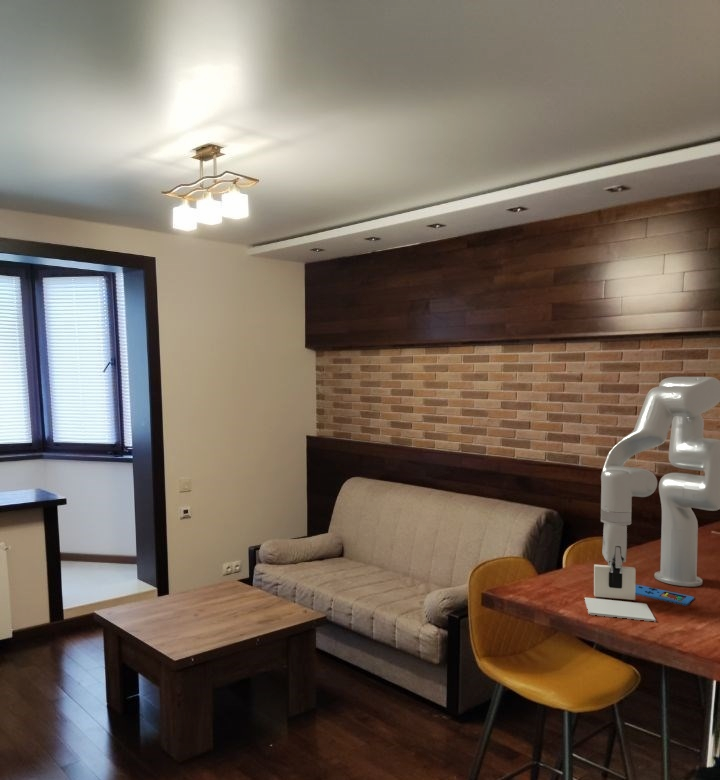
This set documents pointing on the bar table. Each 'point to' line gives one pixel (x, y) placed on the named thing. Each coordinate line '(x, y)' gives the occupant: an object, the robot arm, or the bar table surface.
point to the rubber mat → (619, 609)
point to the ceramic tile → (605, 591)
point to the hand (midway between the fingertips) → (614, 585)
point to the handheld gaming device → (662, 595)
